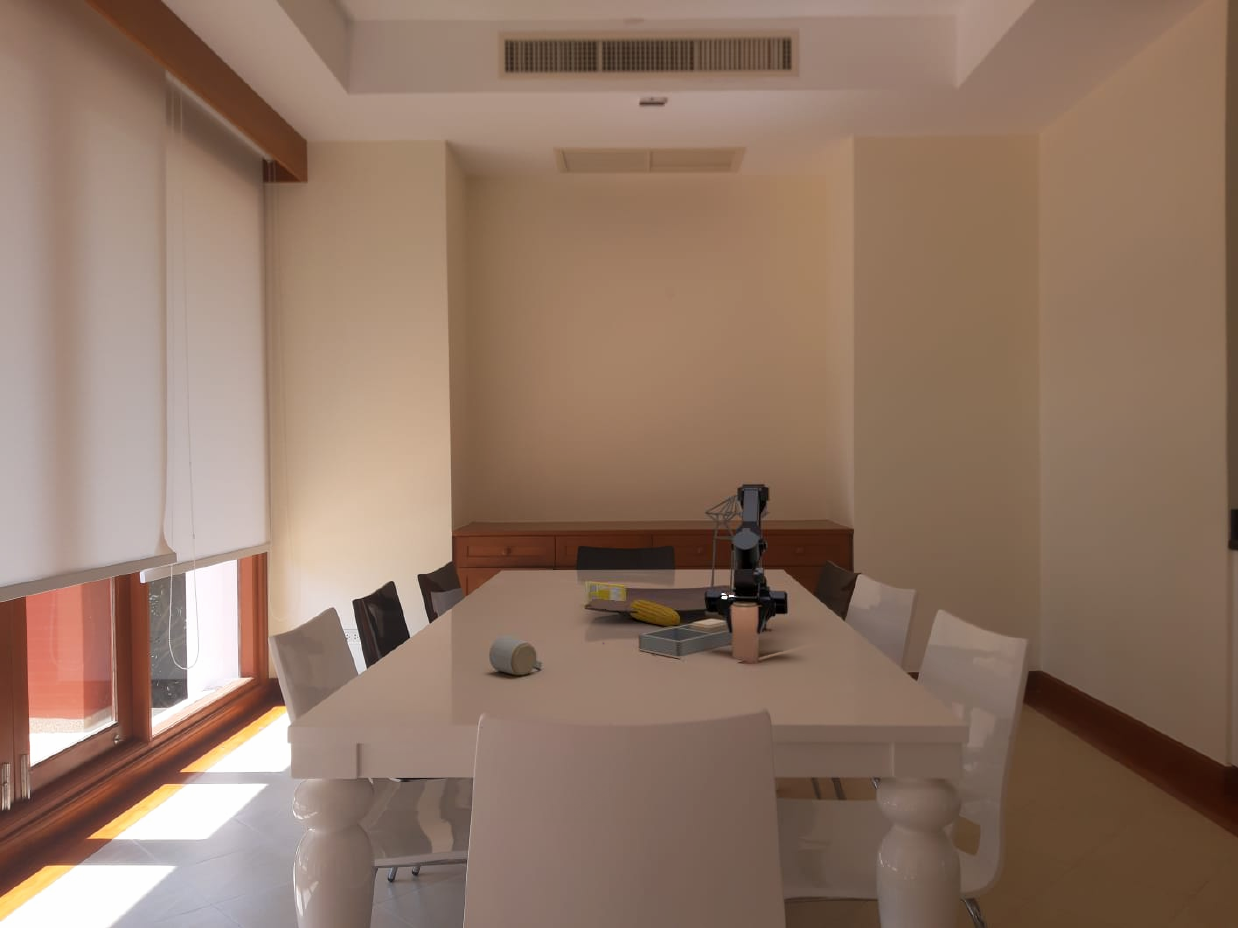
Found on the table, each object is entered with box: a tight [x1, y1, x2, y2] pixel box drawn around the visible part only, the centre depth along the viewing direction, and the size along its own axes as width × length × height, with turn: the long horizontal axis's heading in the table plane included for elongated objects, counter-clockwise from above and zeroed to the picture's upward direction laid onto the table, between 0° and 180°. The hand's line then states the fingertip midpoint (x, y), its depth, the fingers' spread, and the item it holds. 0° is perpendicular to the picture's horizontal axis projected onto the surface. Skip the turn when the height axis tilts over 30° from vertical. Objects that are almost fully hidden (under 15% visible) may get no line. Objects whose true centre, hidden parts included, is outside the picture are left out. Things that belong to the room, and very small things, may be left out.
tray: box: [638, 622, 732, 661], centre depth 209 cm, size 25×13×4 cm, turn 134°
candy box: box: [584, 580, 627, 606], centre depth 265 cm, size 16×2×8 cm, turn 46°
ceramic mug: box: [488, 634, 543, 676], centre depth 186 cm, size 11×8×8 cm
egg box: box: [690, 618, 728, 633], centre depth 213 cm, size 8×6×4 cm
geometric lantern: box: [704, 494, 771, 611], centre depth 265 cm, size 16×16×35 cm
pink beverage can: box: [730, 601, 760, 665], centre depth 194 cm, size 6×6×13 cm
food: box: [629, 599, 681, 628], centre depth 241 cm, size 21×6×6 cm, turn 35°
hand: (744, 632), depth 193 cm, fingers closed on pink beverage can, 6 cm apart
